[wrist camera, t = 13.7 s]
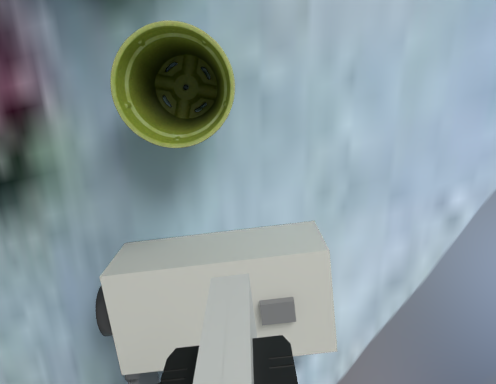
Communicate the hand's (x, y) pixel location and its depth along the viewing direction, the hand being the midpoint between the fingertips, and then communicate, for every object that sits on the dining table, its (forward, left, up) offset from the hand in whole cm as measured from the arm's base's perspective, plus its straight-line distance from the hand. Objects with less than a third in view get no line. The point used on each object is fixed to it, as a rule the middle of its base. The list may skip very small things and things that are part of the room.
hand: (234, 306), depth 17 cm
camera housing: (-3, -11, -26) cm, 29 cm away
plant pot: (-4, +9, -27) cm, 28 cm away
